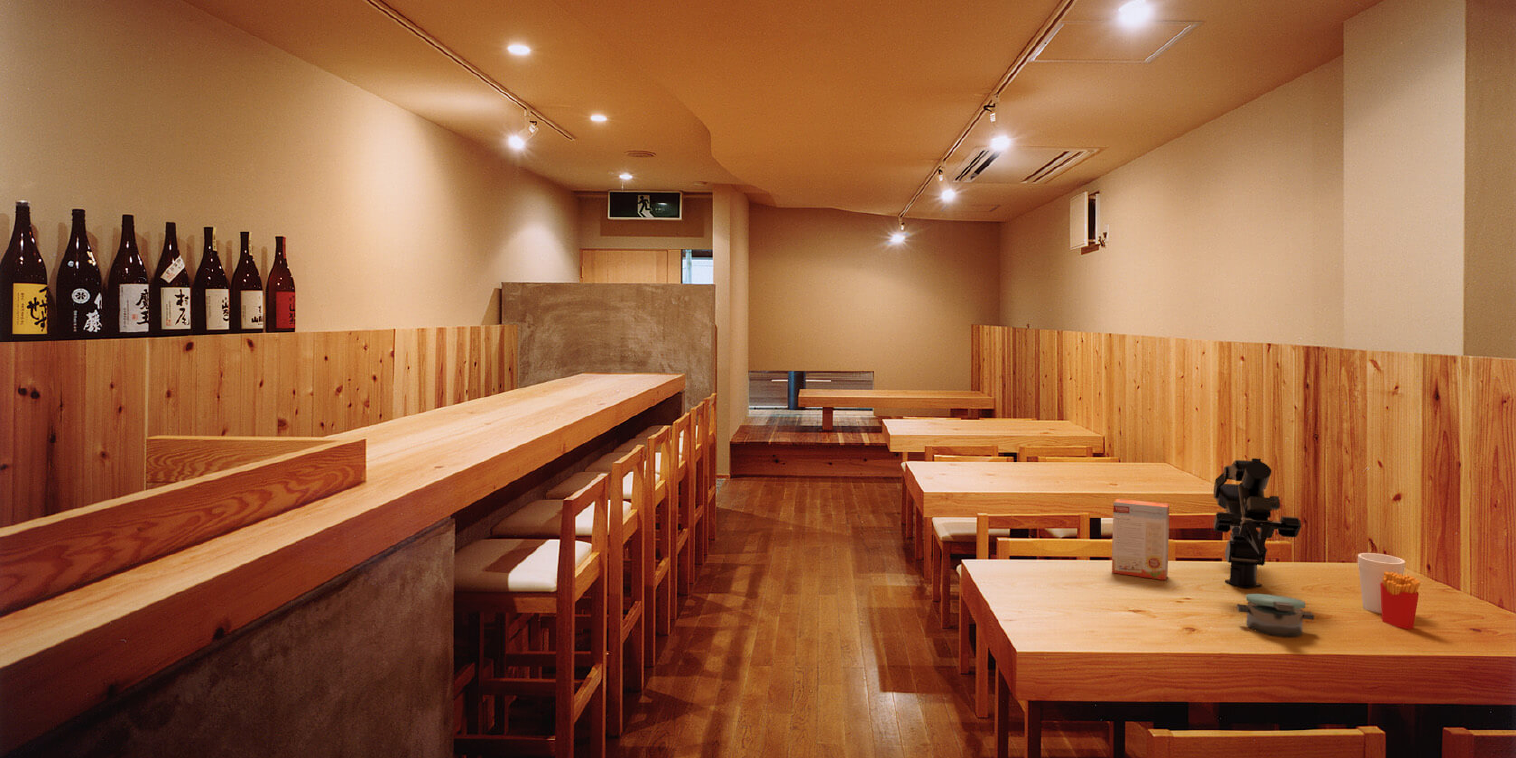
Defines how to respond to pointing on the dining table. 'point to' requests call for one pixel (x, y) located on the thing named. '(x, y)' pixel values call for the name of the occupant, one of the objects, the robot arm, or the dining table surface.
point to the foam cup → (1376, 576)
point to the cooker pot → (1274, 620)
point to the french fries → (1399, 599)
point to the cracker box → (1140, 538)
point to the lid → (1276, 601)
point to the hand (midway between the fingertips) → (1260, 553)
